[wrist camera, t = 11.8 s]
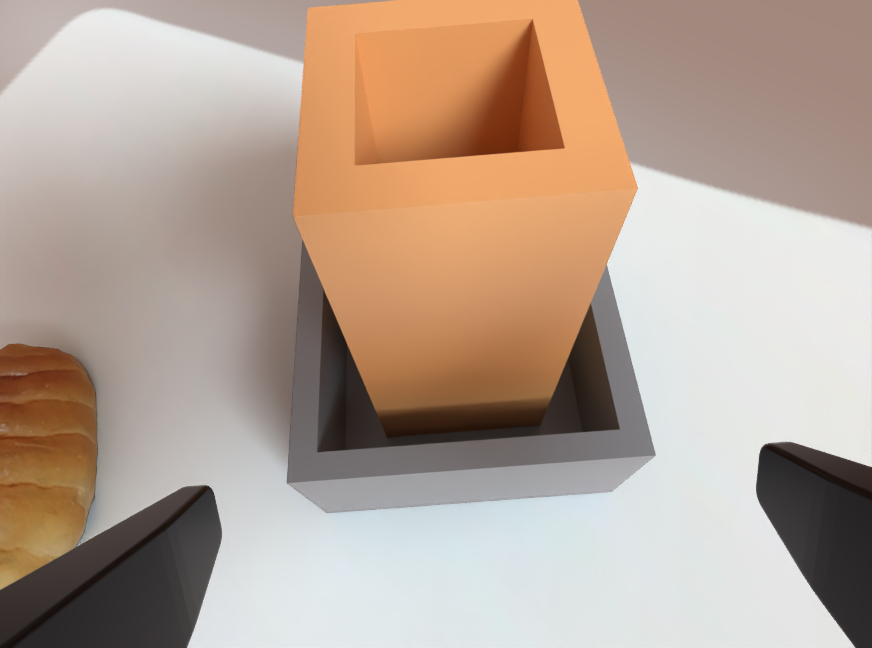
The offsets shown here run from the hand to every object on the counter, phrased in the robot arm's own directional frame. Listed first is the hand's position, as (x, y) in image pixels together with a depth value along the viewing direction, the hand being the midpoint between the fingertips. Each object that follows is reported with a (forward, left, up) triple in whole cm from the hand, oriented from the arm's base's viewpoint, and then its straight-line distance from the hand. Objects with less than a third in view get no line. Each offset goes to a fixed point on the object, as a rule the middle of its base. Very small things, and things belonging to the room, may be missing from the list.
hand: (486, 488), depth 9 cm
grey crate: (+5, +5, -11) cm, 13 cm away
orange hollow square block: (+5, +5, -10) cm, 12 cm away
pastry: (-10, +15, -11) cm, 21 cm away
